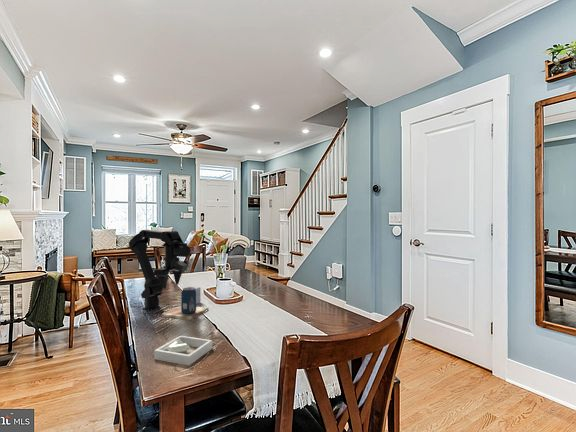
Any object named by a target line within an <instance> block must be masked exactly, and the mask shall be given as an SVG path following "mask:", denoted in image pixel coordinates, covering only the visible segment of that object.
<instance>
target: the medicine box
mask: <svg viewBox="0 0 576 432" xmlns="http://www.w3.org/2000/svg"><path fill="white" fill-rule="evenodd" d="M188 287H191V286H186V287H185V288H188ZM192 287H193V288H195V290H196V305H197V303H198V304H200V303H201V302H200V301H202V300H201V299H202V298H201V294H202V293H201V287H200V286H192ZM199 302H200V303H199Z"/></svg>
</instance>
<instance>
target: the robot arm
mask: <svg viewBox="0 0 576 432" xmlns="http://www.w3.org/2000/svg"><path fill="white" fill-rule="evenodd" d="M150 239H156V240H160V241H161V242H163V244H162V245H161V247H164V248H165V249H164V252H165V254H164V258H162V259H163V261H164V265H163V267H159V268H156V269H153V267H152V264H151V262H150V259H149V256H148V253H147V250H148V243H149V242H150ZM128 246H129V249H130V250H131V253H133V254H134V255H136V258H137V260H138V264H139V266H140V268H141V271H142V274H143V276H144V277H143V278H144V285H143V287H144V289H143V291H142V292H141V293H140V296H141V298H142V299H144V307H143V308H142V310H145V311H146V310H147V311H155V310H156V309H159V308H161V305H160V299H159V296H162V292H163V289H167V283H168V280H167V279H168V278H169V277H170V272H172V273H173V278H174V283H175V285H176V286H177V285H179V282H180V281H181V280H180V279H181V277H182V275H183V274H184V273H185V272H186V271H187V270H188V268H189V267H190V266H189V262H190V261H189V260H188V259H187V260H184V261H182V260H180V258H187V257H189V256H190V254H191V248H190V246H189V245H188V243H187V242H185V243H184V240H183V239H182V237H181V235H180V233H179V232H178V231H177V230H169V231H166V230H165V231H159V230H152V229H142V230H140V231H139V232H138V233H137V234H135V235H134V236H133V237H132V238H130V240H129V241H128Z"/></svg>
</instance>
